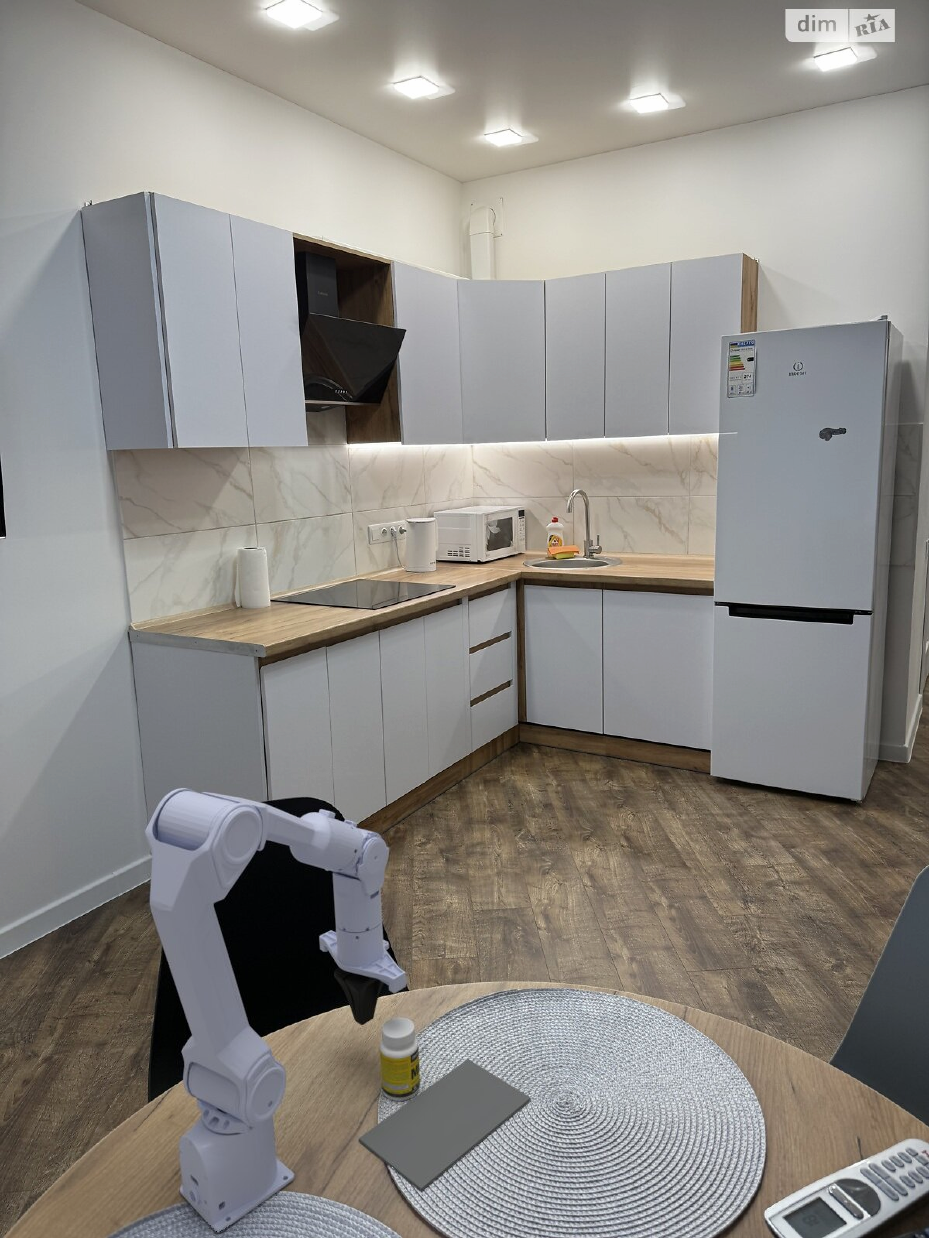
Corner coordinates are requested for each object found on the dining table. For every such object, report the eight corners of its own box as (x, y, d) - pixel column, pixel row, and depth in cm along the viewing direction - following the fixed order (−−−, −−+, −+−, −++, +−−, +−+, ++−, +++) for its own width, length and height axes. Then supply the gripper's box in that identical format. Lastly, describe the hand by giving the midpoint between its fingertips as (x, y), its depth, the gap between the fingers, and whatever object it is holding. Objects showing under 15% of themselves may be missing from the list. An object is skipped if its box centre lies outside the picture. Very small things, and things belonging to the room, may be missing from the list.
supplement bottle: (418, 1102, 107) (416, 1039, 105) (379, 1102, 107) (376, 1040, 105) (421, 1074, 111) (418, 1014, 110) (384, 1075, 112) (380, 1014, 110)
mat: (421, 1191, 94) (421, 1188, 94) (358, 1141, 101) (358, 1138, 101) (530, 1100, 106) (530, 1097, 106) (468, 1061, 114) (468, 1058, 114)
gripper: (422, 928, 108) (426, 1028, 110) (347, 890, 118) (352, 983, 120) (378, 952, 103) (383, 1056, 105) (303, 910, 113) (310, 1007, 115)
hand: (364, 1019), depth 112 cm, fingers closed
